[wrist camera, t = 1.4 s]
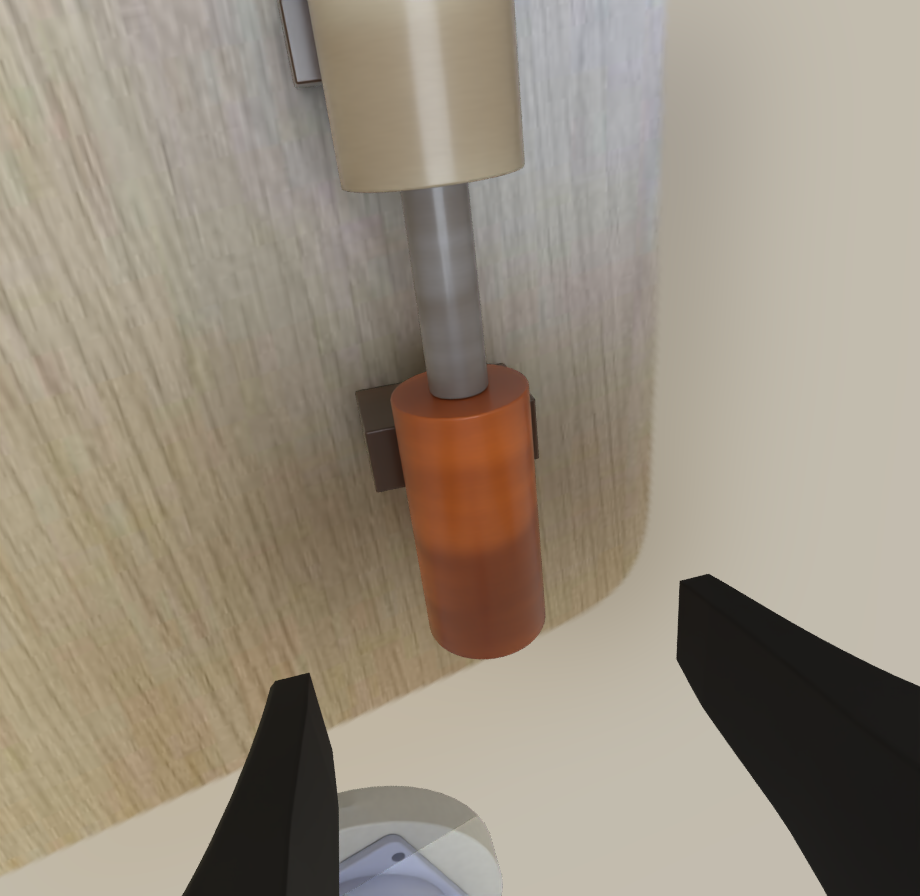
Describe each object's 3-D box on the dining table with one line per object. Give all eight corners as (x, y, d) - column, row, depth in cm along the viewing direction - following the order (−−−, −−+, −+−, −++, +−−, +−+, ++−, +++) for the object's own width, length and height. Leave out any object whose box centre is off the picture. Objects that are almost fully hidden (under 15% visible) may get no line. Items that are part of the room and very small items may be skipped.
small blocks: (509, 417, 19) (539, 459, 17) (365, 446, 18) (376, 493, 16) (471, -22, 14) (505, -47, 12) (276, -2, 14) (273, -25, 11)
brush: (530, 564, 18) (574, 646, 15) (412, 592, 18) (435, 681, 15) (470, -168, 11) (530, -260, 8) (274, -154, 11) (269, -247, 8)
